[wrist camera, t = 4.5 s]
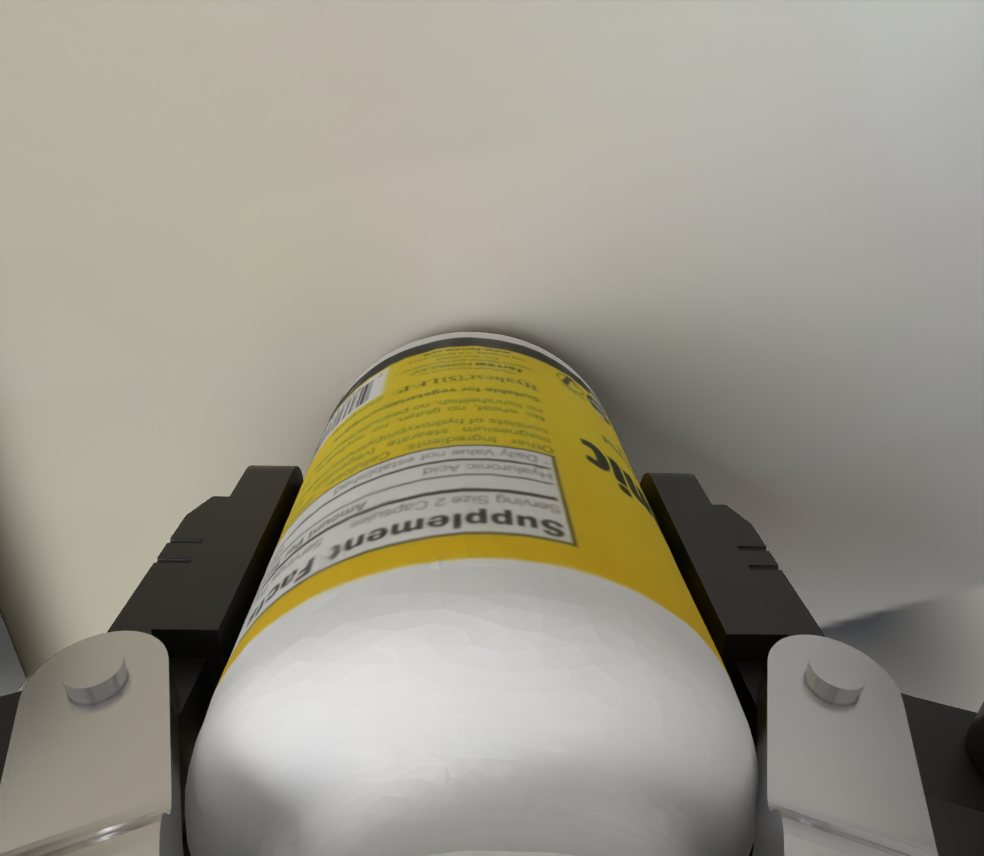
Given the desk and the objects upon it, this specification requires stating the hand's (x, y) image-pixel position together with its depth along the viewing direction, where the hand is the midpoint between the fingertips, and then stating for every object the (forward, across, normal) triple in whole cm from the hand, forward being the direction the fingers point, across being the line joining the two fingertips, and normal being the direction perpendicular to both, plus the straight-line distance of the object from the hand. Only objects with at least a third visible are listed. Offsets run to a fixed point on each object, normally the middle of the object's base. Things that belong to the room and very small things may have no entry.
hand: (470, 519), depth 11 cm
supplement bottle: (+2, 0, 0) cm, 2 cm away
